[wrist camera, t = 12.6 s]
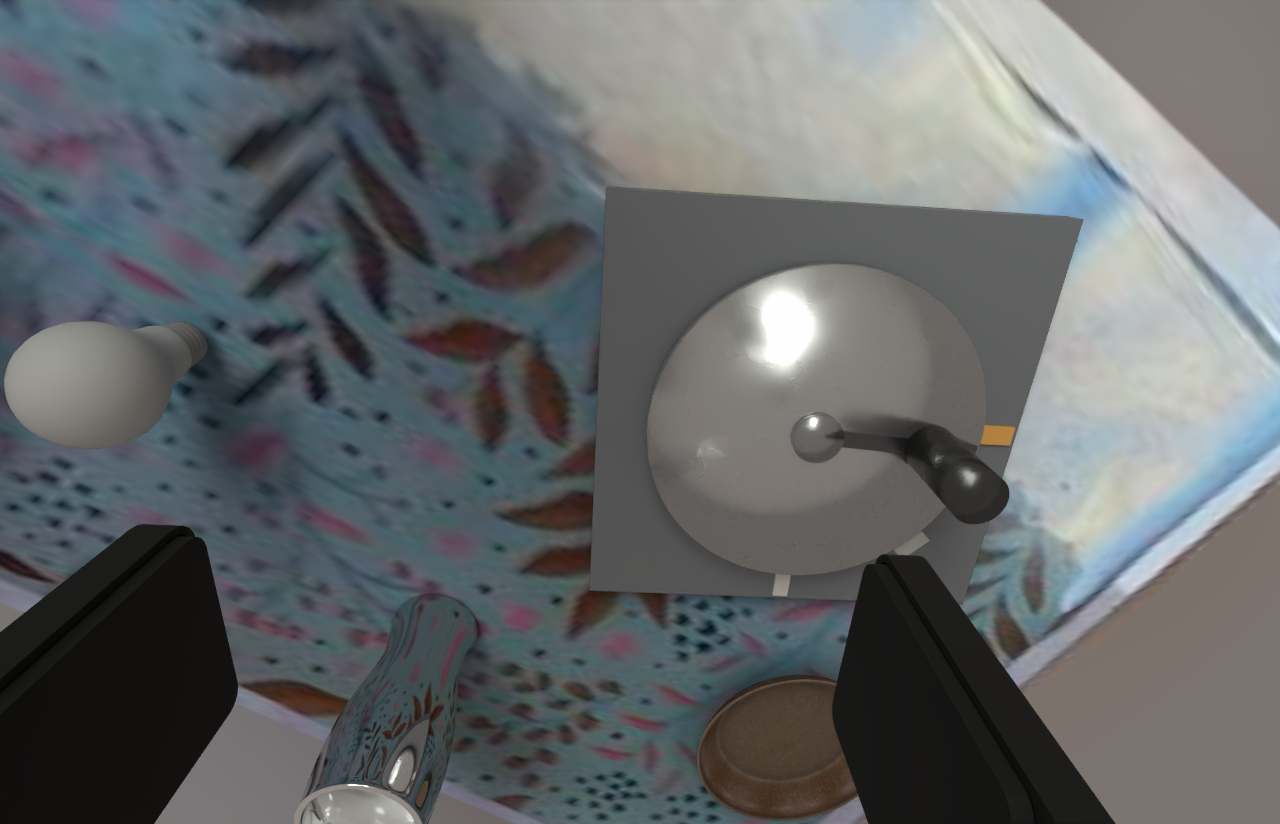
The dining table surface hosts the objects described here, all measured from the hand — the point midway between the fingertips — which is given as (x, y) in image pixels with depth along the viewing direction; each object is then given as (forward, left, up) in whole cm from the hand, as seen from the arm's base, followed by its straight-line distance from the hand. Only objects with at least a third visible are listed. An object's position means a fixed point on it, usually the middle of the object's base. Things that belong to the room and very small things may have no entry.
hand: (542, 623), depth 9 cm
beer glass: (+27, -11, -31) cm, 42 cm away
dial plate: (+9, +13, -30) cm, 34 cm away
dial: (+9, +13, -29) cm, 33 cm away
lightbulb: (+6, -24, -31) cm, 39 cm away
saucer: (+36, +16, -31) cm, 50 cm away
